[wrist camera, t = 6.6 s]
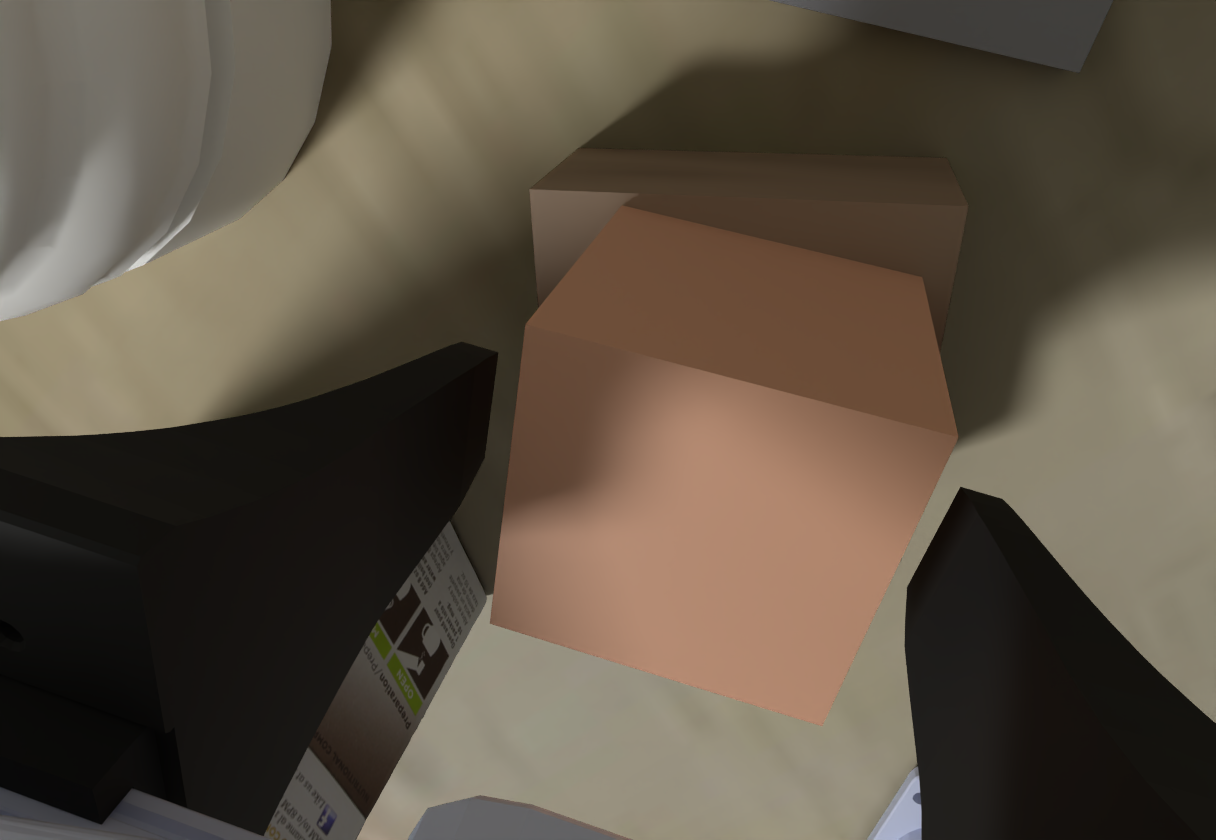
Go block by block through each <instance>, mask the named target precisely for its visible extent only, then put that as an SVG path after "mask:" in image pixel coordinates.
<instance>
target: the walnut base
mask: <svg viewBox="0 0 1216 840" xmlns="http://www.w3.org/2000/svg"><path fill="white" fill-rule="evenodd" d="M529 192H530V205H531V218H532V232H533V245H534V259H535V272H536V285H537V299H538V308H539V307H540V306H541V304H542V303H543V302H544V301H545V299H546V298H547V297H548V296H549V295H550V293H551V292H552V291H553V290H554V288H555V287H556V286H557V285H558V283H559V282H560V281H561V280H562V278H563V277H564V276H565V275H566V274H567V272H568V271H569V270H570V269H571V267H572V266H573V265H574V264H575V262H576V261H577V260H578V259H579V258H580V256H581V255H582V254H583V253H584V251H585V250H586V249H587V248H588V246H589V245H590V244H591V243H592V241H593V240H594V239H595V238H596V237H597V235H598V234H599V233H600V232H601V230H602V229H603V228H604V227H605V225H606V224H607V223H608V222H609V221H610V219H611V218H612V217H613V216H614V214H615V213H616V212H617V211H618V209H619V208H620V207H621V206H622V205H623V206H627V207H631V208H635V209H640V210H644V211H648V212H652V213H656V214H660V215H665V216H669V217H673V218H677V219H681V220H686V221H690V222H694V223H698V224H702V225H706V226H711V227H715V228H719V229H723V230H727V231H732V232H736V233H740V234H744V235H748V236H753V237H757V238H761V239H765V240H769V241H773V242H778V243H782V244H786V245H790V246H794V247H799V248H803V249H807V250H811V251H815V252H819V253H824V254H828V255H832V256H836V257H840V258H845V259H849V260H853V261H857V262H861V263H865V264H870V265H874V266H878V267H882V268H886V269H890V270H895V271H899V272H903V273H907V274H911V275H915V276H920V277H922V278H923V282H924V286H925V291H926V295H927V300H928V304H929V309H930V313H931V317H932V322H933V326H934V331H935V335H936V339H937V344H938V348H939V353H940V351H941V346H942V341H943V335H944V330H945V325H946V320H947V315H948V310H949V305H950V300H951V294H952V289H953V284H954V279H955V274H956V269H957V264H958V259H959V254H960V248H961V243H962V238H963V233H964V228H965V223H966V218H967V213H968V207H969V206H968V204H967V201H966V199H965V197H964V195H963V193H962V190H961V188H960V186H959V184H958V182H957V179H956V177H955V175H954V173H953V171H952V168H951V166H950V164H949V162H948V160H947V158H937V157H900V156H862V155H825V154H788V153H750V152H713V151H676V150H638V149H601V148H578V149H577V150H576V151H575V152H573V153H572V154H571V155H570V156H569V157H567V158H566V159H565V160H564V161H563V162H561V163H560V164H559V165H558V166H557V167H555V168H554V169H553V170H552V171H551V172H549V173H548V174H547V175H546V176H545V177H543V178H542V179H541V180H540V181H539V182H537V183H536V184H535V185H534V186H533V187H531V188H530V189H529Z"/></svg>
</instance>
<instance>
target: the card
mask: <svg viewBox="0 0 1216 840" xmlns="http://www.w3.org/2000/svg"><path fill="white" fill-rule="evenodd" d="M771 1H775V2H779V3H784V4H788V5H792V6H796V7H801V8H805V9H809V10H813V11H817V12H822V13H826V14H830V15H834V16H839V17H843V18H847V19H851V20H856V21H860V22H864V23H868V24H873V25H877V26H881V27H885V28H890V29H894V30H898V31H902V32H907V33H911V34H915V35H919V36H924V37H928V38H932V39H936V40H941V41H945V42H949V43H953V44H958V45H962V46H966V47H970V48H975V49H979V50H983V51H987V52H992V53H996V54H1000V55H1004V56H1009V57H1013V58H1017V59H1021V60H1026V61H1030V62H1034V63H1038V64H1043V65H1047V66H1051V67H1055V68H1060V69H1064V70H1068V71H1072V72H1077V73H1080V71H1081V68H1082V66H1083V64H1084V62H1085V60H1086V58H1087V56H1088V54H1089V51H1090V49H1091V47H1092V45H1093V43H1094V41H1095V39H1096V36H1097V34H1098V32H1099V30H1100V28H1101V26H1102V24H1103V22H1104V19H1105V17H1106V15H1107V13H1108V11H1109V9H1110V7H1111V5H1112V2H1113V0H771Z"/></svg>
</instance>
